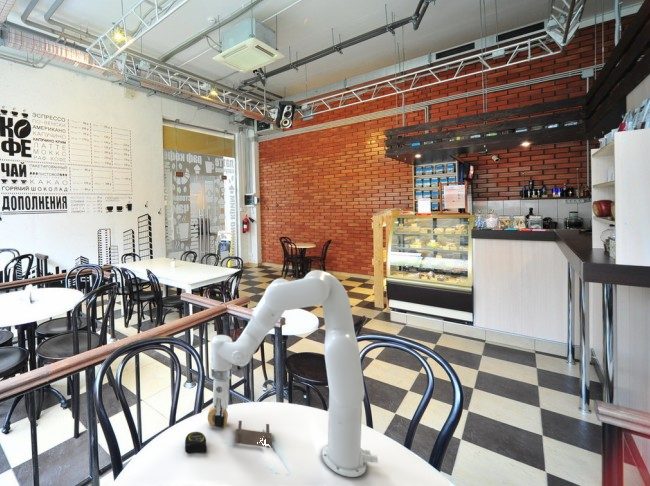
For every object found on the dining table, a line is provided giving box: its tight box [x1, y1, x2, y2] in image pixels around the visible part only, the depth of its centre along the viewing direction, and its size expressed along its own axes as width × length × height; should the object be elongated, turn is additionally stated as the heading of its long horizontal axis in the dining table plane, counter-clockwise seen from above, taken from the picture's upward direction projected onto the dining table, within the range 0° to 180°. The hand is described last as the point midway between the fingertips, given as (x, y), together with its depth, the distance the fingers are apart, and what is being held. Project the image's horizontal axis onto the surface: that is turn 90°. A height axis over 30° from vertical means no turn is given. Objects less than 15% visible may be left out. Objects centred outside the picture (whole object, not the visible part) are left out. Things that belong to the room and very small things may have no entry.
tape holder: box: [234, 420, 273, 448], centre depth 110 cm, size 12×7×4 cm, turn 81°
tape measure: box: [184, 431, 207, 454], centre depth 106 cm, size 7×7×4 cm
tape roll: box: [207, 405, 229, 428], centre depth 117 cm, size 7×3×7 cm, turn 81°
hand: (219, 422), depth 117 cm, fingers closed on tape roll, 2 cm apart
